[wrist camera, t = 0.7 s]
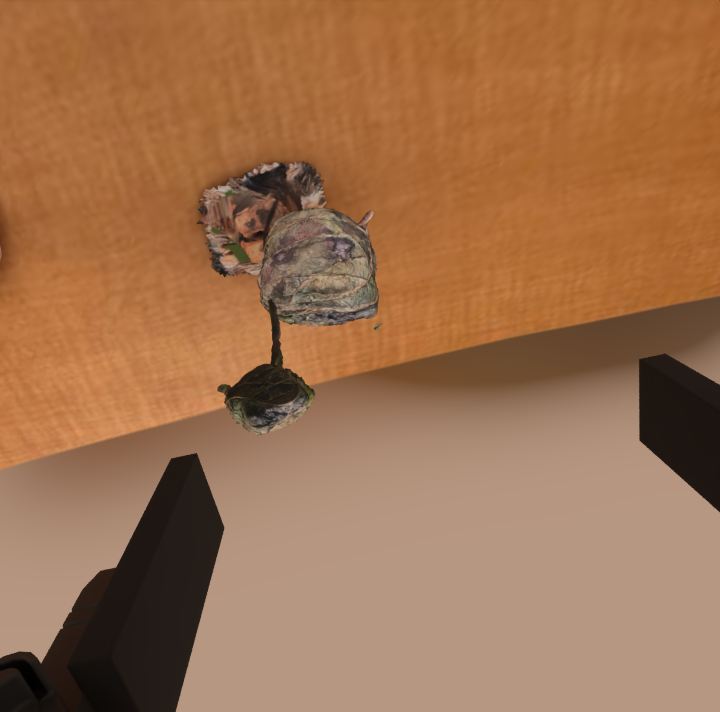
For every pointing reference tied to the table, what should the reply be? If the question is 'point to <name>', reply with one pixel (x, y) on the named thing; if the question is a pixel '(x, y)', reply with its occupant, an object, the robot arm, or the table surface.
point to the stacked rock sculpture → (288, 274)
